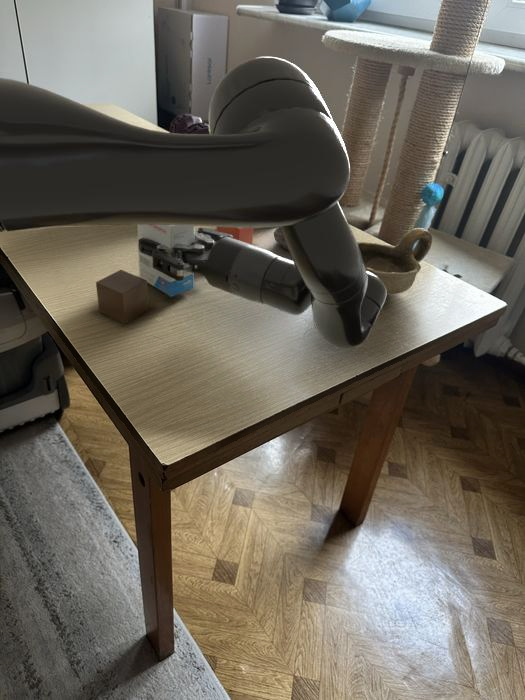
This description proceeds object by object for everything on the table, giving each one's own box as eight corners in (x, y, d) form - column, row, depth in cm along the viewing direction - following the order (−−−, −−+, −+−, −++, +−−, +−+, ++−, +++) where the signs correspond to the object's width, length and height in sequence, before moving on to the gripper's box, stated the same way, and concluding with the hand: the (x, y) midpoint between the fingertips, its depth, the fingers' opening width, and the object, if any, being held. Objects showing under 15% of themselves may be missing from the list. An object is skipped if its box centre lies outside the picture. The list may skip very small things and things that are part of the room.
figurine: (148, 184, 118) (145, 107, 108) (201, 179, 125) (203, 106, 115) (183, 216, 105) (183, 132, 95) (240, 209, 112) (246, 129, 102)
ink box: (195, 288, 81) (196, 217, 74) (171, 298, 78) (169, 225, 71) (162, 268, 85) (160, 200, 78) (138, 277, 82) (133, 206, 75)
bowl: (318, 274, 90) (328, 221, 84) (394, 262, 97) (408, 213, 92) (362, 313, 81) (377, 257, 75) (443, 297, 88) (462, 245, 82)
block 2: (237, 254, 93) (239, 228, 91) (215, 246, 95) (217, 220, 92) (251, 245, 97) (254, 220, 94) (230, 237, 99) (231, 213, 96)
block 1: (124, 324, 72) (122, 293, 69) (98, 312, 74) (95, 282, 71) (148, 309, 75) (147, 280, 72) (123, 298, 77) (120, 269, 74)
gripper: (273, 231, 75) (182, 202, 81) (218, 264, 65) (119, 228, 71) (268, 275, 79) (183, 245, 86) (216, 314, 69) (123, 276, 75)
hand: (154, 237), depth 78 cm, fingers closed on ink box, 6 cm apart
